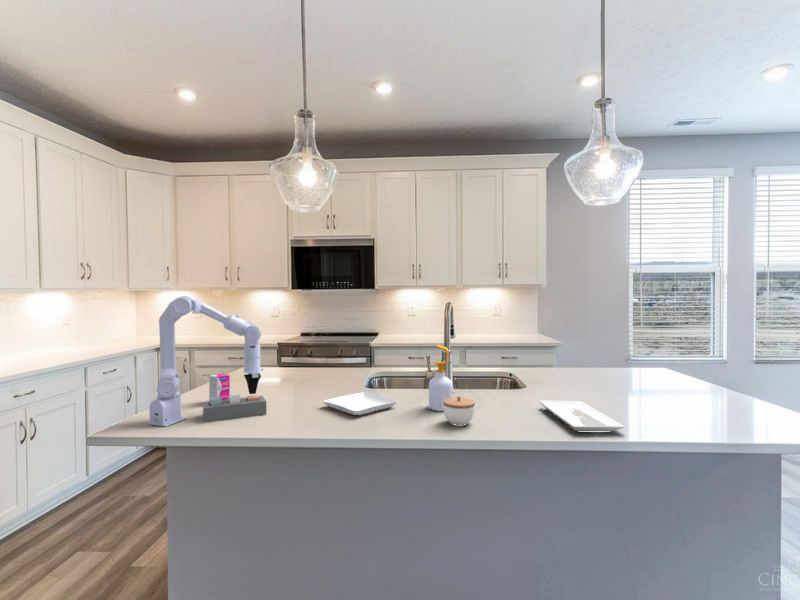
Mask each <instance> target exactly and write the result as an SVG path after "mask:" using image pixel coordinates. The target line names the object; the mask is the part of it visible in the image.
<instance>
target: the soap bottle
mask: <svg viewBox="0 0 800 600" xmlns="http://www.w3.org/2000/svg"><path fill="white" fill-rule="evenodd" d="M435 347H436V348H439V349H442V350H443V351H445V352H446V361H435V362H434V365H436V366H437V368H438V369H436V373H435V374H436V375H435V376H434V377H432V378H431V379H430V380H429V381H428V382H429V383H428V409H430V410H431V409H432V410H431V411H434V410H436V412H444V404H443V401H444V400H445V399H447V398H453V382H452V380H451V379H450V378H449V377H447V376H446V370H445V369H444V367H445V365H447V364H448V363H449V360H450V359H449V353H450V352H449V351H450V350H449V348H448V347H446V346H443V345H440V344H436V346H435Z"/></svg>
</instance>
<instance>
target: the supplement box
mask: <svg viewBox="0 0 800 600" xmlns="http://www.w3.org/2000/svg"><path fill="white" fill-rule="evenodd" d="M230 377H231V376H230V375H229V374H227V373H216V374H210V375H209V380H208V381H209V391H208V392H209V393H208V394H209V396H208V398H209V401H210V398H212V397H221V399H222V400H227V399H229V396H231V395H230V393H231V392H230V388H231V387H230V386H231V384H230V382H231V380H230ZM209 401H208V402H209Z"/></svg>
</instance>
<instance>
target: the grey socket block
mask: <svg viewBox="0 0 800 600" xmlns="http://www.w3.org/2000/svg"><path fill="white" fill-rule="evenodd" d="M257 396H258V397H259V400H258V401H249V402H247V396H246V397H240V403H232V404H229V399H227V400H222V405H214V406H210V401H203V402H202V418H203V423H204V422H205V423H211V421H213V422H218V421H219V422H220V420H221V421H227V420H235V418H236V419H242V418H243V417H244V418H249V417H250V416H251V417H257V416H258V415H259V416H265V415H267V400H266V399H265V398H264V396H263V395H257Z"/></svg>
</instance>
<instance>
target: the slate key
mask: <svg viewBox="0 0 800 600" xmlns="http://www.w3.org/2000/svg"><path fill="white" fill-rule="evenodd" d="M214 405H222V399H221V397H212V398H210V406H214Z"/></svg>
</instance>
